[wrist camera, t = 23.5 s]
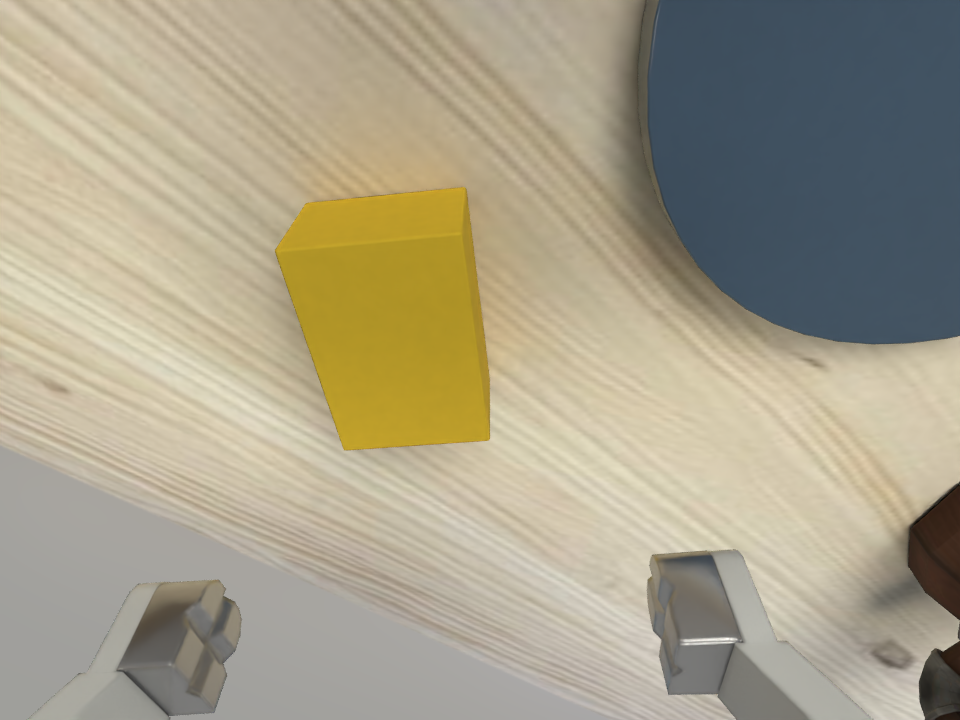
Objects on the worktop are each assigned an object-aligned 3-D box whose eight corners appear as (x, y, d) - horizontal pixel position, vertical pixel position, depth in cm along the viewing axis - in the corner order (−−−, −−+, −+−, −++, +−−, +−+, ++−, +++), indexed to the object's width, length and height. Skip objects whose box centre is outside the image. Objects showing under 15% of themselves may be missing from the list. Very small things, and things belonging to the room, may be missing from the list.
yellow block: (305, 202, 21) (273, 250, 18) (466, 186, 21) (462, 232, 18) (360, 388, 27) (343, 451, 24) (489, 379, 26) (490, 441, 23)
